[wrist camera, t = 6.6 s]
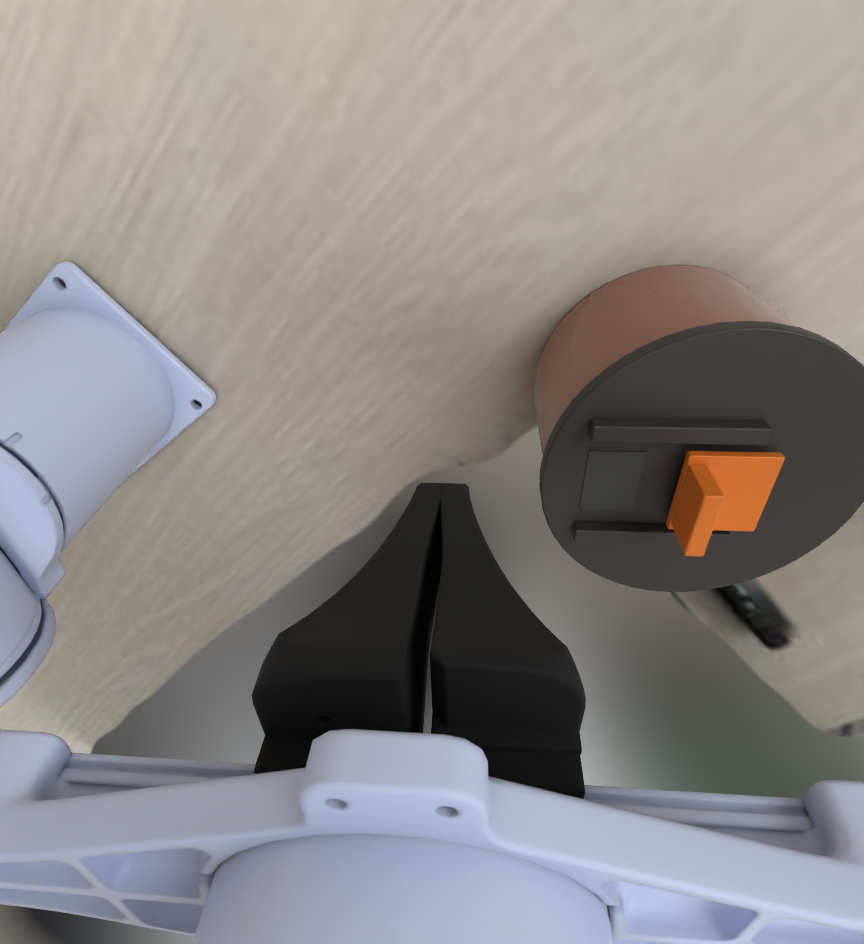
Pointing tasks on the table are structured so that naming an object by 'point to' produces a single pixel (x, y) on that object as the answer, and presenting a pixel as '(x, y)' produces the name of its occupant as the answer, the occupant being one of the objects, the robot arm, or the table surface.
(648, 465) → the lidded cup
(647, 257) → the table surface
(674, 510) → the slider
